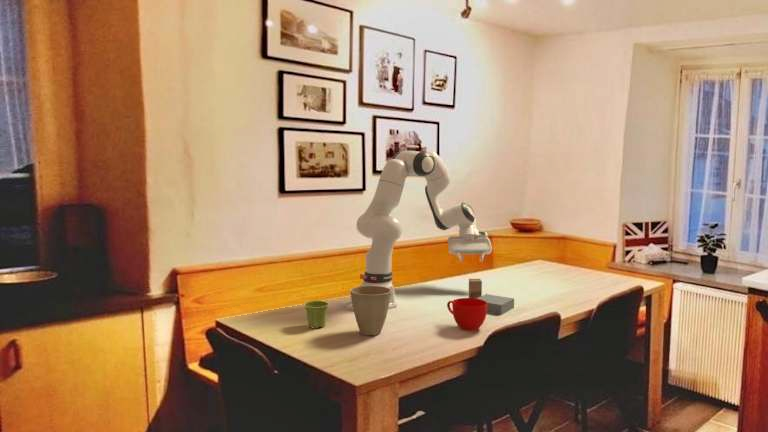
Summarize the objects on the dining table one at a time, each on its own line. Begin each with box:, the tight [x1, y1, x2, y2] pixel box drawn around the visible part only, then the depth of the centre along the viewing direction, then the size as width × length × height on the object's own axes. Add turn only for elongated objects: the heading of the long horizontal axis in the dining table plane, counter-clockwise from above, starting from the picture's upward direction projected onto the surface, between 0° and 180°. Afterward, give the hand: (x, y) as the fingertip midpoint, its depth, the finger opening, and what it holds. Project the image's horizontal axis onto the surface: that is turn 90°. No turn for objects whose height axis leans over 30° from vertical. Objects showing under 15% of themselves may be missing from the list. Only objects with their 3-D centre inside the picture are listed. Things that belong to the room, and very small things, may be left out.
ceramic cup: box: [446, 297, 488, 332], centre depth 214 cm, size 13×17×10 cm
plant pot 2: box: [349, 285, 391, 336], centre depth 207 cm, size 15×15×16 cm
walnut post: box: [468, 278, 483, 299], centre depth 254 cm, size 5×5×9 cm
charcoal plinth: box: [477, 293, 515, 316], centre depth 240 cm, size 13×13×4 cm
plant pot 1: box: [303, 300, 330, 329], centre depth 214 cm, size 9×9×9 cm
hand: (471, 260), depth 265 cm, fingers open, 8 cm apart
